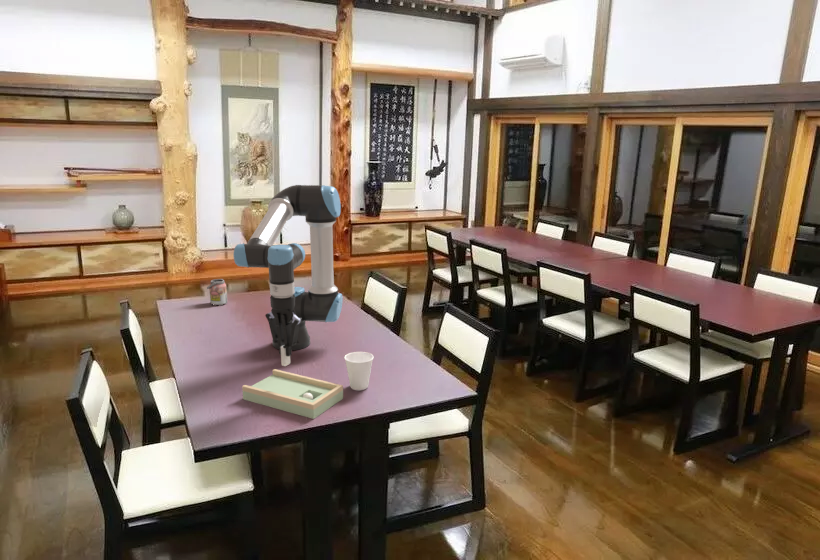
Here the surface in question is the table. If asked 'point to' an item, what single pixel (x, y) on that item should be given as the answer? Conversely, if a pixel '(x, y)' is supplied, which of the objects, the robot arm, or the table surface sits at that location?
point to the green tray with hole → (294, 393)
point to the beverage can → (218, 292)
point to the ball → (308, 396)
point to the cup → (359, 369)
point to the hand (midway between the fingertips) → (286, 364)
